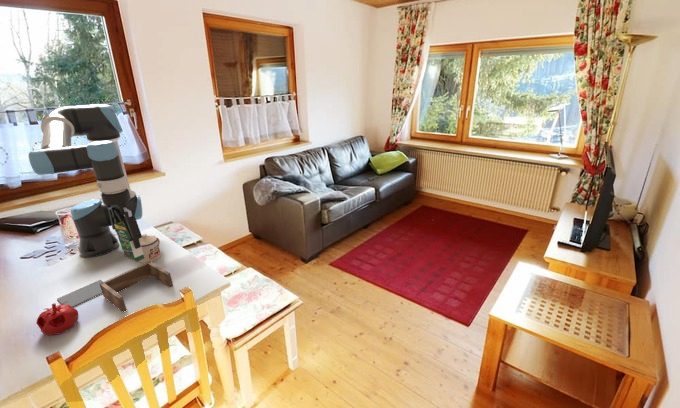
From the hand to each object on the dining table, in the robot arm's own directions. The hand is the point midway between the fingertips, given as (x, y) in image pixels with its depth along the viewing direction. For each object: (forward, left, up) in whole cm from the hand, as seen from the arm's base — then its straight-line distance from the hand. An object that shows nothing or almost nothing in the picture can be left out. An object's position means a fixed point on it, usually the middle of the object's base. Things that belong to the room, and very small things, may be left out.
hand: (132, 251), depth 111 cm
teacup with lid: (-26, +16, -19) cm, 36 cm away
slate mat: (-20, -12, -18) cm, 30 cm away
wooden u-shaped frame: (-4, 0, -18) cm, 19 cm away
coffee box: (0, 0, -3) cm, 3 cm away
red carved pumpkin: (-6, -23, -19) cm, 31 cm away
